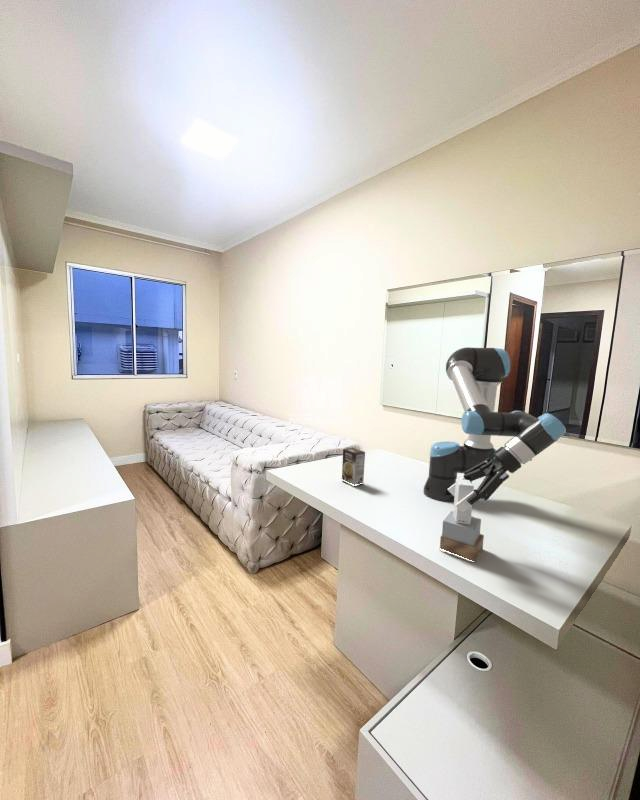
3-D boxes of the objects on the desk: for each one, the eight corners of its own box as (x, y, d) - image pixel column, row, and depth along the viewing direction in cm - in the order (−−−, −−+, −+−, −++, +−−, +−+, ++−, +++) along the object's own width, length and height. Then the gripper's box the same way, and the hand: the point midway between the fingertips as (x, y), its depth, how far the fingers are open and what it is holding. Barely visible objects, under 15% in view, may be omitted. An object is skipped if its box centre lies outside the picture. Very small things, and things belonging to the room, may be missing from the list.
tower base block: (439, 551, 106) (440, 536, 105) (450, 539, 113) (451, 524, 113) (474, 564, 99) (475, 547, 99) (482, 550, 107) (483, 534, 107)
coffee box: (341, 481, 164) (342, 448, 163) (351, 479, 168) (352, 447, 166) (353, 487, 157) (355, 453, 155) (364, 484, 161) (365, 451, 159)
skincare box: (471, 525, 102) (474, 486, 101) (455, 523, 103) (458, 484, 102) (466, 516, 108) (469, 479, 107) (452, 515, 109) (455, 478, 108)
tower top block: (441, 536, 105) (443, 520, 105) (450, 525, 112) (451, 511, 112) (473, 546, 100) (474, 529, 99) (479, 534, 107) (481, 519, 107)
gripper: (540, 478, 89) (472, 527, 93) (507, 454, 113) (454, 494, 117) (519, 456, 89) (453, 506, 94) (491, 437, 113) (439, 478, 117)
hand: (454, 500), depth 105 cm, fingers open, 12 cm apart
